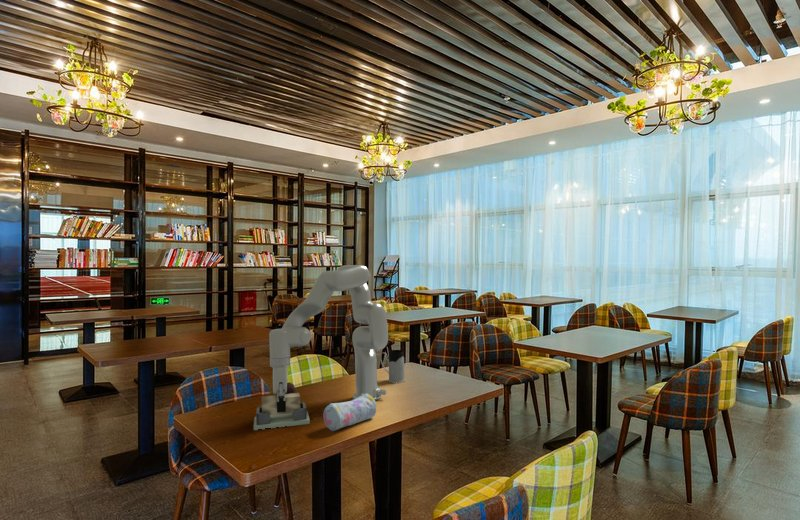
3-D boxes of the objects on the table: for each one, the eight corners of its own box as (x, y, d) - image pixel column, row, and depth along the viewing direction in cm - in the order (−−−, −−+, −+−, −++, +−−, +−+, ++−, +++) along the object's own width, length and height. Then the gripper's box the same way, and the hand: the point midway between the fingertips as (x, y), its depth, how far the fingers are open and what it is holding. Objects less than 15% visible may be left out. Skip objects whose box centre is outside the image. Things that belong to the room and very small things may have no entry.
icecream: (271, 382, 212) (285, 391, 201) (286, 375, 217) (300, 384, 205) (275, 395, 214) (288, 405, 202) (289, 388, 218) (303, 398, 206)
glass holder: (399, 383, 227) (398, 353, 227) (376, 380, 235) (375, 351, 235) (408, 379, 235) (407, 350, 235) (385, 376, 242) (385, 348, 242)
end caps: (305, 412, 182) (304, 401, 182) (306, 419, 173) (306, 408, 173) (257, 417, 177) (256, 407, 177) (256, 425, 168) (256, 414, 168)
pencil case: (363, 414, 182) (362, 390, 182) (379, 418, 176) (378, 393, 176) (321, 429, 166) (320, 403, 166) (337, 435, 160) (336, 407, 160)
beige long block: (299, 408, 179) (299, 392, 180) (300, 411, 175) (300, 395, 175) (261, 412, 175) (261, 396, 175) (262, 416, 171) (261, 400, 171)
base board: (307, 414, 183) (307, 411, 183) (309, 423, 172) (309, 419, 172) (254, 420, 178) (254, 417, 178) (253, 430, 167) (253, 426, 167)
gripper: (269, 358, 183) (271, 404, 182) (269, 367, 166) (271, 417, 166) (289, 356, 185) (290, 402, 184) (291, 365, 168) (292, 415, 168)
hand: (281, 409), depth 175 cm, fingers closed on beige long block, 5 cm apart
